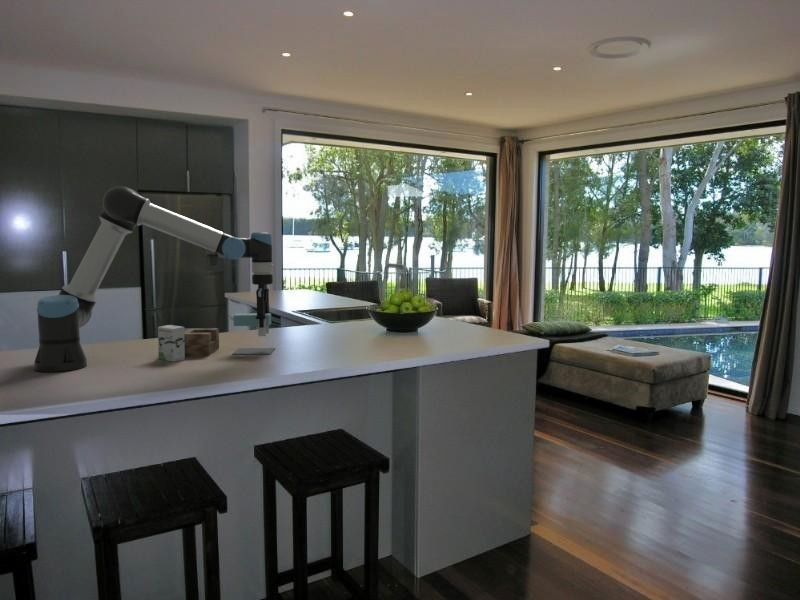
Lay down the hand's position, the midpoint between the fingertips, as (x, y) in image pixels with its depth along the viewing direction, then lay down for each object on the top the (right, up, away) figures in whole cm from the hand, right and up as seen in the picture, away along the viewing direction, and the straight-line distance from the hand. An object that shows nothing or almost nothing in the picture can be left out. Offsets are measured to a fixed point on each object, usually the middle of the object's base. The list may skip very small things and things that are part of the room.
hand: (263, 334), depth 228 cm
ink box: (-29, -8, -15) cm, 34 cm away
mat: (-4, -7, 0) cm, 8 cm away
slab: (-4, +4, -1) cm, 5 cm away
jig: (-27, -7, -1) cm, 27 cm away
